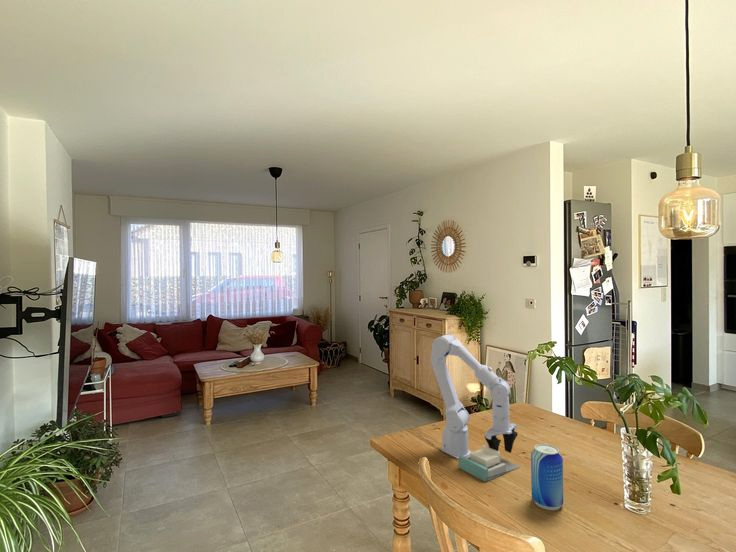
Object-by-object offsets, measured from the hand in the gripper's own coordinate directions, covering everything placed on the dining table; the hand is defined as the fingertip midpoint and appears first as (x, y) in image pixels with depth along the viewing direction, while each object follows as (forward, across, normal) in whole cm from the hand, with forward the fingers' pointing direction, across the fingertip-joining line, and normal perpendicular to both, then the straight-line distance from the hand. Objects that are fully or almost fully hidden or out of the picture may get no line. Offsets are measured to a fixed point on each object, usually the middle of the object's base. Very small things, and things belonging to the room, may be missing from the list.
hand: (501, 454), depth 142 cm
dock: (+3, -7, 0) cm, 8 cm away
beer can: (+3, -10, -24) cm, 26 cm away
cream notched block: (+2, -8, 0) cm, 9 cm away
